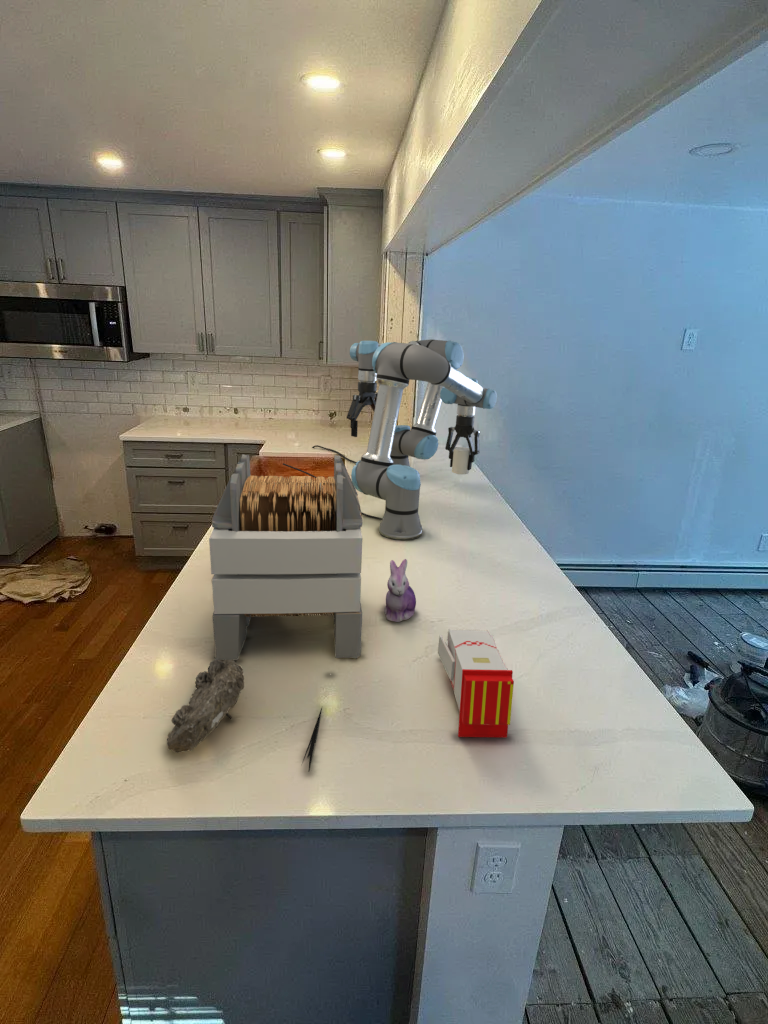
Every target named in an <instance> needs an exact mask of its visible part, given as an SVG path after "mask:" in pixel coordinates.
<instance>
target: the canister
mask: <svg viewBox="0 0 768 1024" xmlns="http://www.w3.org/2000/svg"><path fill="white" fill-rule="evenodd" d="M470 454H471V453H470V450H469V447H464V446H455V448H454V452H453V463H452V467H451V473H453V474H455V475H469V473H470V470H467V469H468V459H469V455H470Z"/></svg>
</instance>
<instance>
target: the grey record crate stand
mask: <svg viewBox="0 0 768 1024" xmlns="http://www.w3.org/2000/svg"><path fill="white" fill-rule="evenodd" d="M333 460H334V461H333V469H334V470H333V476H327V477H325V476H321V475H319V476H316V478H315V477H312V476H310V475H308V476H307V475H290V476H283V475H279V476H278V475H265V476H264V475H259V476H258V475H251V459H250V454H243V453H242V454H241V456H240V459H239V461H238V462H237V464H236V466H235V469H234V471H233V473H232V474H231V475H230V478H229V479H228V482H227V484H226V486H225V489H224V491H223V493H222V496H221V498H220V500H219V502H218V504H217V507H216V508H215V511H214V513H213V516H212V518H211V527H212V528H213V529H212V531H211V534H210V535H209V538H208V543H209V559H210V574H211V575H213V576H212V579H211V587H212V588H211V589H212V600H213V601H212V603H213V612H212V629H213V630H212V631H213V640H214V649H215V657H214V660H217V661H224V660H227V659H228V660H231V659H232V660H234V661H238V660H239V658H240V654H241V653H242V649H243V647H244V645H245V642H246V640H247V636H248V632H247V630H248V629H247V627H249V626H250V624H251V623H250V622H251V618H253V617H254V618H255V617H258V618H259V617H264V618H265V617H267V618H268V617H292V616H293V617H308V616H310V617H311V616H333V618H332V619H333V626H334V627H333V636H334V638H333V639H334V640H333V641H334V658H337V659H342V658H344V659H345V658H347V659H349V658H352V659H358V658H359V657H361V656H362V633H363V632H362V631H363V630H362V629H363V611H362V603H361V590H362V576H361V574H362V563H363V562H362V561H363V534H362V529H361V528H362V527H363V525H364V524H363V523H364V519H363V515H362V514H361V512H362V509H361V505H360V499H359V494H358V492H357V490H356V489H355V487H354V485H353V483H352V479H351V475H350V474H349V472H348V470H347V468H346V466H345V463H344V461H343V459H342V456H341V455H338V454H337V455H336V454H334V458H333Z"/></svg>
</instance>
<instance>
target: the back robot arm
mask: <svg viewBox="0 0 768 1024" xmlns="http://www.w3.org/2000/svg"><path fill="white" fill-rule="evenodd" d="M383 343H384V342H383ZM383 343H379V342H378V341H377V340H360V341H359V342H355V343H353V344H352V345H351V346H350V348H349V357H350V359H351V360H352V361H354V362H357V363H358V364H357V365H358V367H357V369H358V370H357V381H358V382H357V391H358V394H353V395H352V401H351V403H350V405H349V409H348V412H347V414H346V419H347V420H348V421H349V420H350V436H351V437H353V438H358V426H359V425H358V424H359V421H358V417H359V416H360V414H361V412H362V411H363V409H364V407H366V406H370V407H371V409H372V411H373V412H374V410H375V405H376V400H377V394H378V390H377V389H378V382H377V380H376V376H377V374H376V373H375V372H374V370H373V368H374V367H373V366H372V359H373V355H374V353H375V351H376V349H377V348H378V347H379V346H381V345H382V344H383ZM405 343H406V344H413V345H414V344H416V345H421V346H424V347H427V348H429V349H431V350H433V351H434V352H436V353H438V354H439V355H441V356H443V357H444V358H445V359H447V360H448V361H449V363H450V365H451V366H452V367H453V368H455V369H456V370H459V369H460V368H461V367H462V366H463V363H464V358H465V354H464V349H463V347H462V345H461V344H460V343H459V342H457V341H454V340H453V341H452V340H444V339H434V338H433V339H432V338H431V339H430V338H429V339H422V340H411V341H409V342H405ZM442 388H443V387H442V386H440V385H433V384H431V383H429V382H427V385H426V388H425V392H424V395H423V399H422V401H421V406H420V409H419V412H418V415H417V418H416V421H415V423H414V424H412V425H411V426H410V425H406V424H399V425H397V424H396V429H395V434H394V439H393V445H392V450H391V455H390V457H391V459H392V460H393V465H403V466H404V465H406V466H409V467H411V464H410V459H409V457H411V458H416V459H418V460H429V459H431V458H432V457H434V455H435V454H436V453H437V451H438V448H439V438H438V437H437V431H436V428H435V427H436V424H437V420H438V417H439V413H440V412H441V411H440V410H441V407H442V403H443V401H442V400H441V398H440V391H441V389H442ZM314 448H320V449H323V450H327V451H330V452H333V453H336V454H337V455H338V456H340V457H341V458H343V459H345V460H347V461H348V462H349V463H353V464H356V463H357V462H358V461H354V460H352V459H350V458H348V457H346V456H345V455H344V454H342V453H341V452H339V451H337V450H335V449H332V448H327V447H325V446H321V445H317V444H315V445H313V446H312V447H311V449H314Z"/></svg>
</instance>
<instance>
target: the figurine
mask: <svg viewBox="0 0 768 1024" xmlns="http://www.w3.org/2000/svg"><path fill="white" fill-rule="evenodd" d="M407 567H408V559H406V558H404V559H403V560H402V561H401V563H400V565H399V566H398V565H397V563H396V562H395V561H394V560H393V559H391V560H390V561H389V570H390V576H389V578H388V579H387V589H388V591H387V592H386V594H385V595H386V596H385V607H384V615H385V616H386V620H387V621H391V622H395V623H400V622H402V621H406V620H409V619H410V618H411V617H413V616H414V615H415V610H416V606H417V597H416V593H415V591H414V590H413V587H411V586H410V582H409V579H408V577H407V574H406V571H407Z"/></svg>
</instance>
